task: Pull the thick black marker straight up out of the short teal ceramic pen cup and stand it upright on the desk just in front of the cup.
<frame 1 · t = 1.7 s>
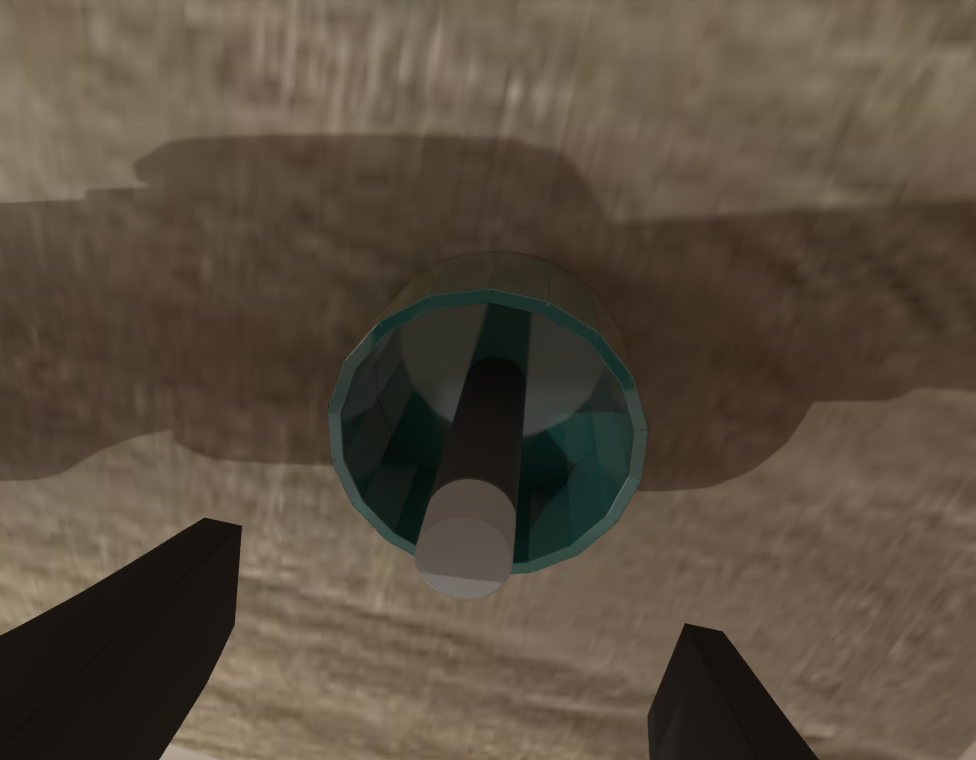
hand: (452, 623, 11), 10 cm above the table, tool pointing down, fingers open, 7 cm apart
pen cup: (496, 379, 21), on the table
marker: (495, 385, 20), resting on pen cup
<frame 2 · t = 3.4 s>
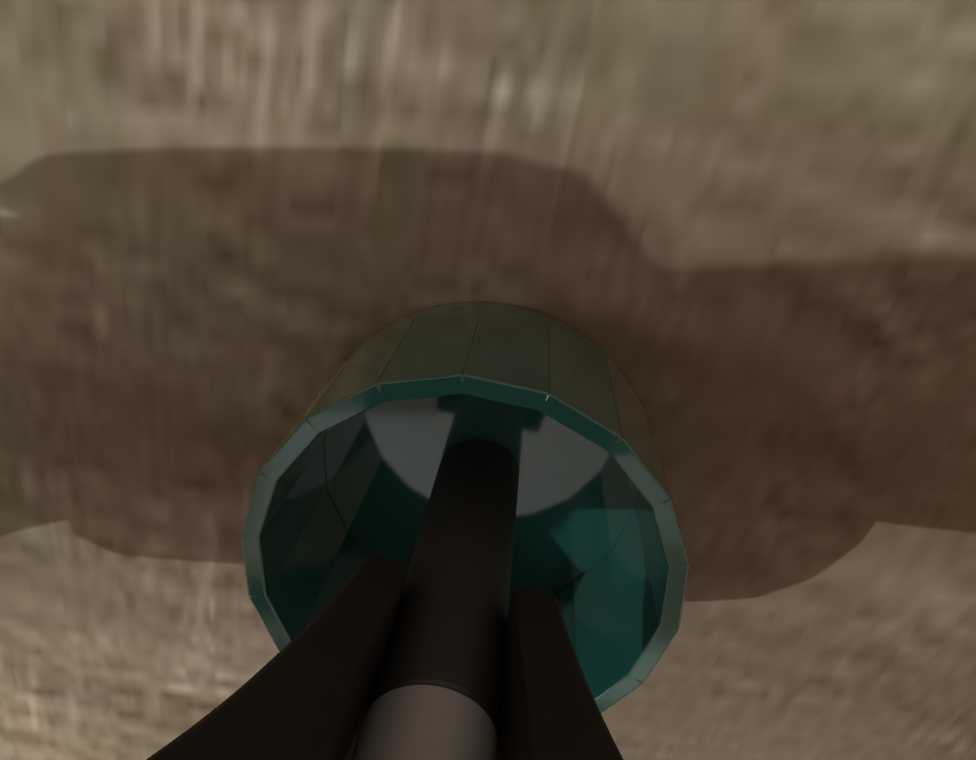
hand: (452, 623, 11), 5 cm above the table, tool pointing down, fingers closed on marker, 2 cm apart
pen cup: (481, 463, 16), on the table
marker: (478, 474, 15), point 1 cm above the table, touching gripper, pen cup
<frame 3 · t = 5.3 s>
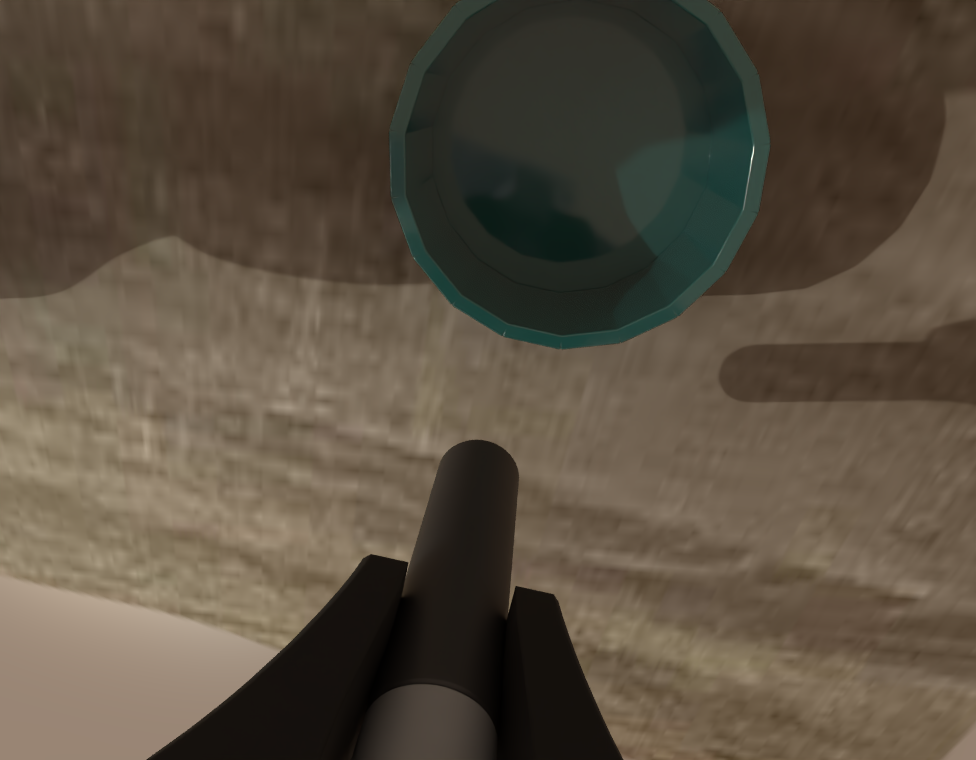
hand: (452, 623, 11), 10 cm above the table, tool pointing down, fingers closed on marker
pen cup: (568, 155, 18), on the table
marker: (478, 474, 15), point 6 cm above the table, touching gripper
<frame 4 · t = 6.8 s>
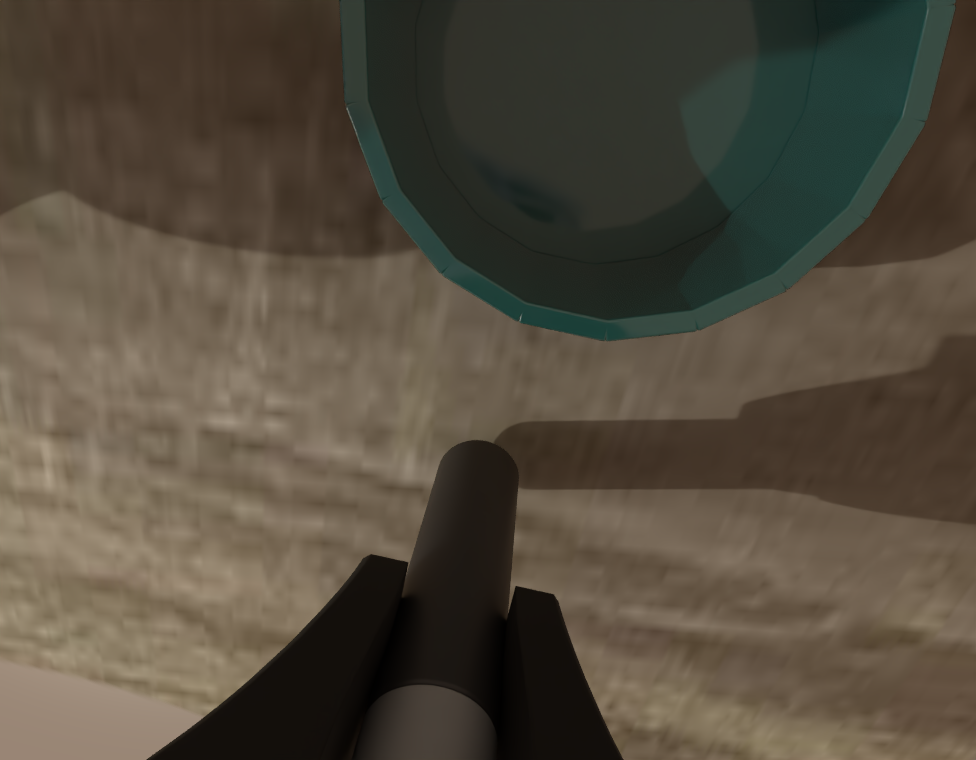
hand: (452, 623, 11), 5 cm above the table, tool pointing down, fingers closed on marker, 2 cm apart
pen cup: (607, 68, 13), on the table
marker: (478, 474, 15), point 1 cm above the table, touching gripper
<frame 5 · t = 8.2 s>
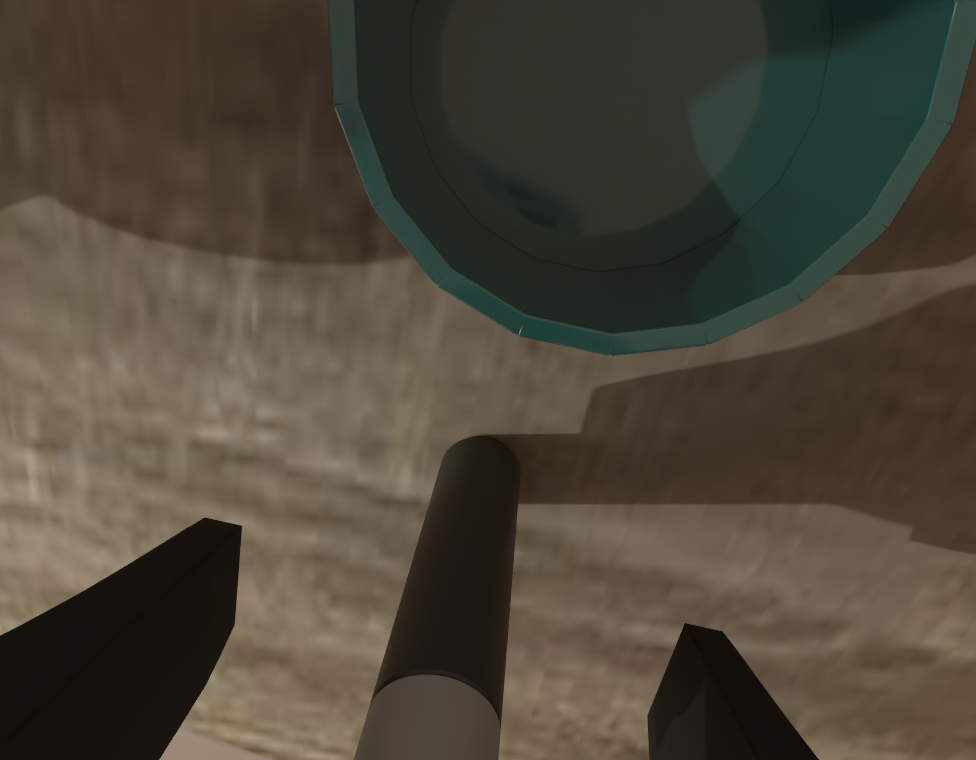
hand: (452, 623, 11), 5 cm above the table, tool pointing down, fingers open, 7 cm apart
pen cup: (611, 68, 12), on the table
marker: (480, 471, 16), on the table
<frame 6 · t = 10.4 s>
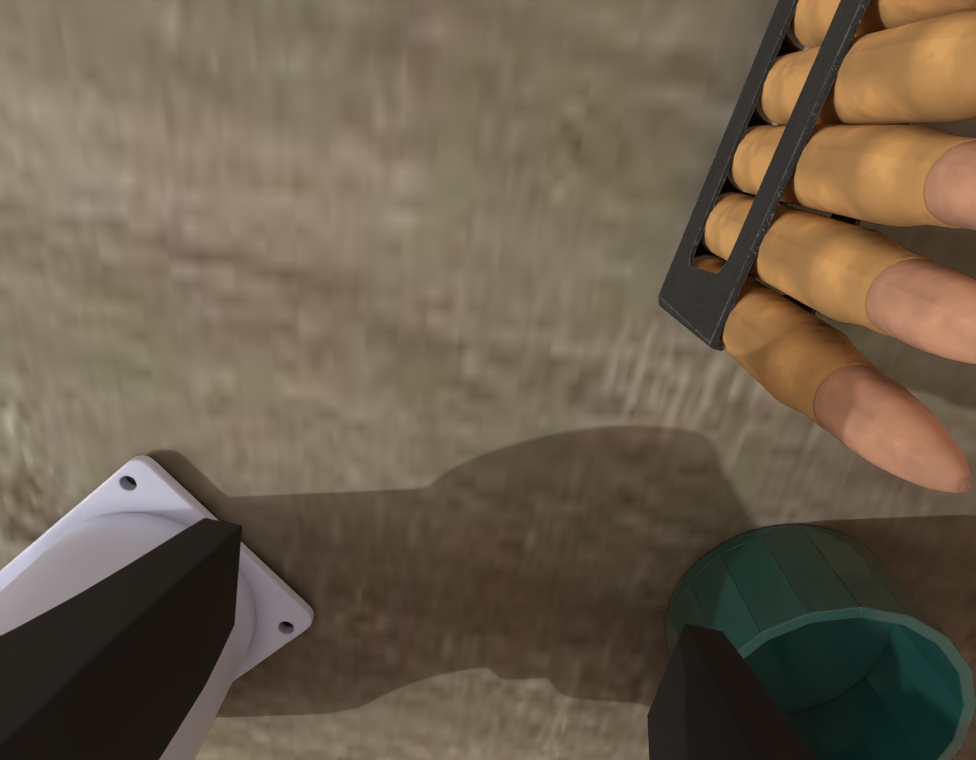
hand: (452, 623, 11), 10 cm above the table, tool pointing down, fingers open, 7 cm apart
ammunition clip: (762, 124, 18), on the table
pen cup: (778, 622, 24), on the table
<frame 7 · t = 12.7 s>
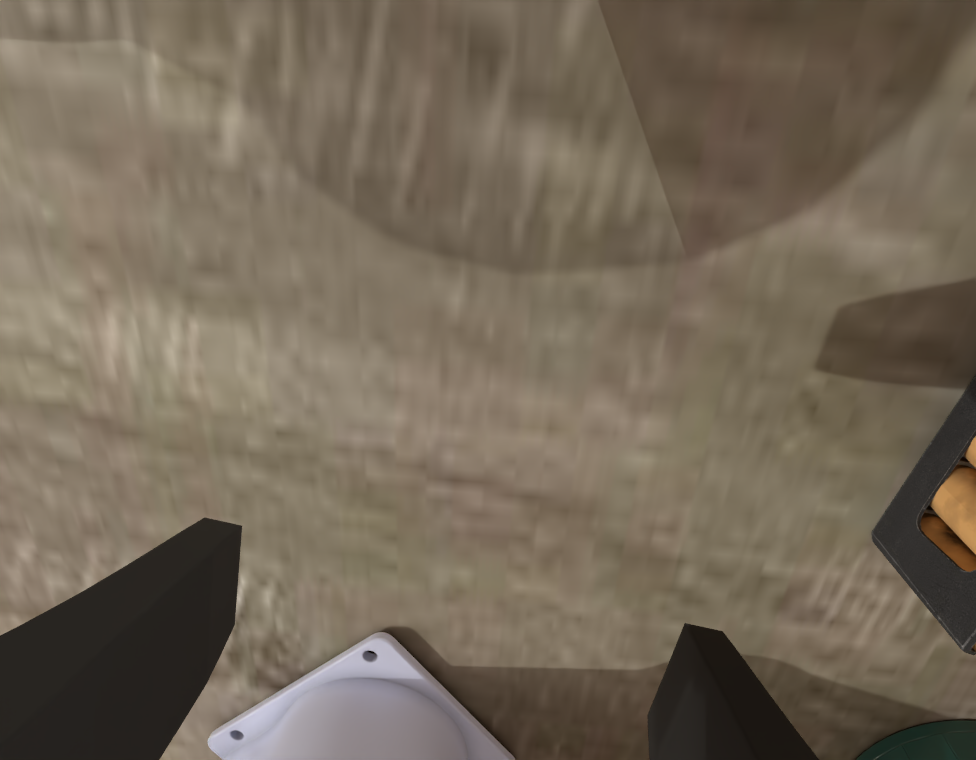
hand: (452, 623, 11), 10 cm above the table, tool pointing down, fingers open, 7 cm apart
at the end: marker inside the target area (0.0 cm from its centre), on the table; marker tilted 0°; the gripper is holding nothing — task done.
